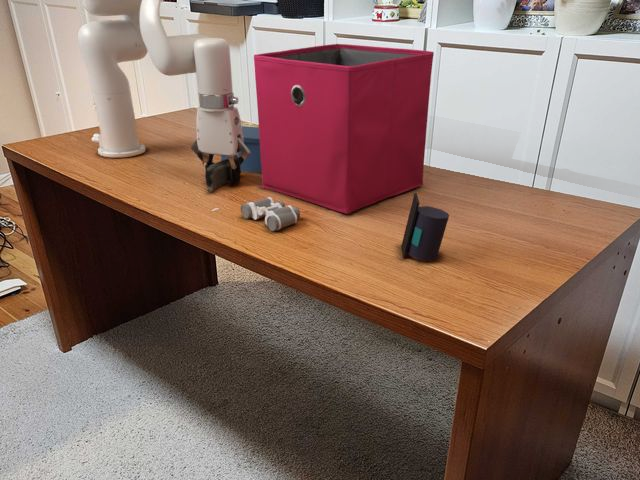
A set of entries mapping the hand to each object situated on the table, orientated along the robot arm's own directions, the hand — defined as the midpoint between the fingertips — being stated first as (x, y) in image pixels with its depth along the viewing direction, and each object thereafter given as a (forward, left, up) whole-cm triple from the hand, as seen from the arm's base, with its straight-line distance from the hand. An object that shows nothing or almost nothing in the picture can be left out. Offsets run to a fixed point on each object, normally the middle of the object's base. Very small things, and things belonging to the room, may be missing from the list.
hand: (223, 181), depth 140 cm
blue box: (0, +15, 0) cm, 15 cm away
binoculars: (+21, -18, 0) cm, 27 cm away
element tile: (-10, +32, 0) cm, 34 cm away
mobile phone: (0, 0, 0) cm, 0 cm away
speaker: (+53, -24, 0) cm, 58 cm away
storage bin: (+27, +7, 0) cm, 28 cm away
